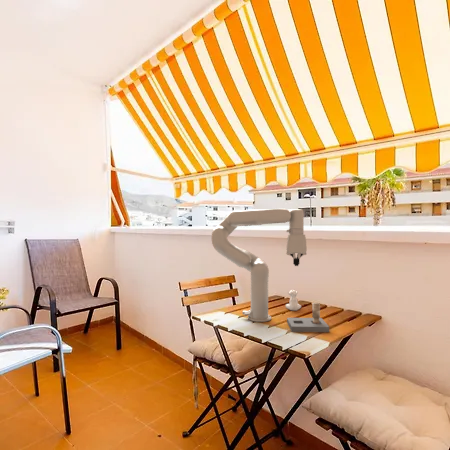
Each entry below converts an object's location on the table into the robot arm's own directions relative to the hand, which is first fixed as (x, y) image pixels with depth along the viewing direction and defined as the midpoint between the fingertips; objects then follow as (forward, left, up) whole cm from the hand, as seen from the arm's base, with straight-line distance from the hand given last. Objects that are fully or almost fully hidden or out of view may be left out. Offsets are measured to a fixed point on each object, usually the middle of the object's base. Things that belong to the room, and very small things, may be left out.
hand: (296, 265), depth 174 cm
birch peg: (+8, -13, -29) cm, 33 cm away
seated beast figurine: (+2, +19, -29) cm, 35 cm away
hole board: (+3, -13, -29) cm, 32 cm away
